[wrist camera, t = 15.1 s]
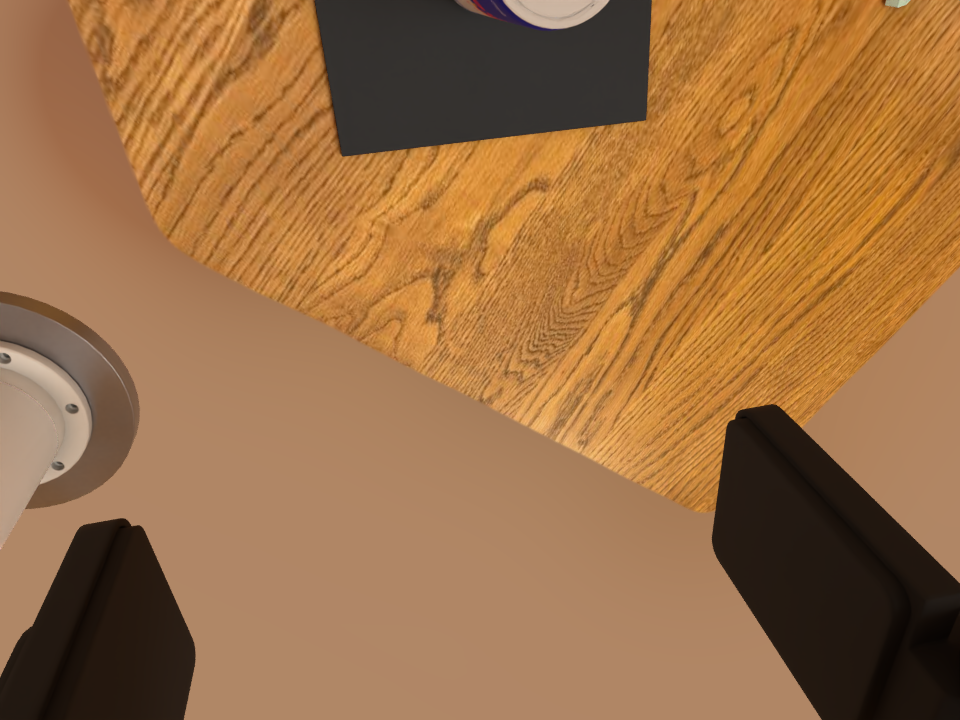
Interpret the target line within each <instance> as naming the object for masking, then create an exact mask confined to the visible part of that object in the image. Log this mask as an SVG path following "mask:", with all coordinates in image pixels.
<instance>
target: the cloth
mask: <svg viewBox="0 0 960 720" xmlns="http://www.w3.org/2000/svg"><path fill="white" fill-rule="evenodd" d="M909 1H910V0H886V3H885V5H887V6H892V7H897V8H898V7H901V6H904V5H906V4H907V3H908V2H909Z"/></svg>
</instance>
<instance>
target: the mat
mask: <svg viewBox="0 0 960 720" xmlns="http://www.w3.org/2000/svg"><path fill="white" fill-rule="evenodd" d="M651 4H652V0H609V2H608V3H607V4H606V5H605V6H604V7H603V8H602V9H601V10H600V11H599V12H598V13H597V14H596V15H594V16H593V17H591V18H590V19H588V20H586V21H585V22H583V23H581V24H578V25H576V26H572V27H568V28H565V29H562V30H554V31H541V30H535V29H531V28H527V27H524V26H520V25H517V24H513V23H509V22H506V21H502V20H499V19H495V18H491V17H488V16H484V15H481V14H476V13H474V12H471V11H469V10H467V9H465V8H463V7H462V6H460V5H459V4H458V3H457V2H456V1H455V0H315V5H316V11H317V17H318V22H319V28H320V34H321V39H322V45H323V51H324V56H325V62H326V68H327V73H328V79H329V85H330V90H331V96H332V102H333V107H334V113H335V119H336V124H337V130H338V136H339V141H340V147H341V153H342V156H351V155H359V154H368V153H376V152H385V151H393V150H401V149H410V148H418V147H426V146H435V145H443V144H452V143H460V142H468V141H477V140H485V139H494V138H502V137H510V136H519V135H527V134H535V133H544V132H552V131H561V130H569V129H577V128H586V127H594V126H602V125H611V124H619V123H628V122H636V121H644V120H646V111H647V90H648V68H649V47H650V25H651Z"/></svg>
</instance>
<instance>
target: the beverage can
mask: <svg viewBox="0 0 960 720" xmlns="http://www.w3.org/2000/svg"><path fill="white" fill-rule="evenodd" d="M455 1H456V2H457V3H458V4H459V5H460V6H462V7H463V8H465V9H467V10H469V11H471V12H474V13H476V14H481V15H484V16H488V17H491V18H495V19H499V20H502V21H506V22H509V23H513V24H517V25H520V26H524V27H527V28H531V29H535V30H541V31H554V30H562V29H565V28H568V27H572V26H576V25H578V24H581V23H583V22H585V21H586V20H588V19H590V18H591V17H593V16H594V15H596V14H597V13H598V12H599V11H600V10H601V9H602V8H603V7H604V6H605V5H606V4H607V3H608V2H609V0H455Z"/></svg>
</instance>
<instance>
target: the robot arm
mask: <svg viewBox="0 0 960 720" xmlns="http://www.w3.org/2000/svg"><path fill="white" fill-rule="evenodd" d="M91 431H92V416H91V410H90V407H89V404H88V402H87V399H86V397H85V395H84V394H83V392H82V391H81V389H80V387H79V386H78V384H77V383H76V382H75V381H74V380H73V379H72V378H71V377H70V376H69V375H68V374H67V373H66V371H64V370H63V369H62V368H60V367H59V366H58V365H56V364H55V363H54V362H52V361H51V360H49V359H47V358H46V357H44V356H42V355H40V354H38V353H37V352H35V351H32V350H30V349H27V348H24V347H22V346H19V345H17V344H13V343H8V342H4V341H0V550H1V548H2V546H3V545H4V543H5V541H6V539H7V538H8V536H9V534H10V533H11V531H12V529H13V527H14V526H15V524H16V522H17V521H18V519H19V517H20V516H21V514H22V512H23V510H24V509H25V507H26V505H27V504H28V502H29V500H30V499H31V497H32V495H33V494H34V492H35V490H36V488H37V487H38V485H39V484H43V483H46V482H48V481H50V480H53V479H55V478H57V477H59V476H61V475H62V474H64V473H65V472H67V471H68V470H70V469H71V468H72V467H73V466H74V464H75V463H76V462H77V461H78V460H79V459H80V457H81V456H82V454H83V452H84V451H85V449H86V447H87V444H88V442H89V440H90V437H91ZM712 544H713V549H714V552H715V554H716V557H717V559H718V561H719V562H720V564H721V565H722V567H723V568H724V570H725V571H726V573H727V574H728V576H729V577H730V579H731V580H732V582H733V584H734V585H735V587H736V588H737V590H738V591H739V593H740V594H741V596H742V598H743V599H744V601H745V602H746V604H747V605H748V607H749V608H750V609H751V611H752V613H753V614H754V616H755V618H756V619H757V621H758V622H759V624H760V625H761V627H762V628H763V630H764V631H765V633H766V635H767V636H768V638H769V639H770V640H771V642H772V644H773V645H774V647H775V648H776V650H777V651H778V653H779V655H780V656H781V658H782V659H783V660H784V662H785V664H786V665H787V667H788V668H789V670H790V671H791V673H792V674H793V676H794V678H795V679H796V681H797V682H798V684H799V685H800V687H801V688H802V690H803V691H804V693H805V694H806V696H807V698H808V699H809V701H810V702H811V704H812V705H813V707H814V708H815V710H816V711H817V713H818V715H819V716H820V718H821V719H822V720H960V583H959V582H958V581H957V580H956V579H955V578H954V577H953V576H952V575H951V574H950V573H949V572H948V571H946V570H945V569H944V568H943V567H942V566H941V565H940V564H939V563H938V562H937V561H936V560H935V559H934V558H933V557H932V556H931V555H930V554H929V553H928V552H927V551H926V550H925V549H924V548H923V547H922V546H921V545H920V544H919V543H918V542H917V541H916V540H915V539H914V538H913V537H912V536H911V535H910V534H909V533H908V532H907V531H906V530H905V529H904V528H903V527H901V525H899V523H897V522H896V521H895V520H894V519H893V518H892V517H891V516H890V515H889V514H888V513H887V512H886V511H885V510H884V509H883V508H882V507H881V506H880V505H879V504H878V503H877V502H876V501H875V500H874V499H873V498H872V497H871V496H870V495H869V494H868V493H867V492H866V491H865V490H864V489H863V488H862V487H861V486H860V485H859V484H858V483H857V482H856V481H855V480H854V479H853V478H851V476H849V474H848V473H847V472H845V471H844V470H843V469H842V468H841V467H840V466H839V465H838V464H837V463H836V462H835V461H834V460H833V459H832V458H831V457H830V456H829V455H828V454H827V453H826V452H825V451H824V450H823V449H822V448H821V447H820V446H819V445H818V444H817V443H816V442H815V441H814V440H813V439H812V438H811V437H810V436H809V435H808V434H807V433H806V432H805V431H804V430H803V429H802V428H801V427H800V426H799V425H798V424H797V423H795V422H794V421H793V420H792V419H791V418H790V417H789V416H788V415H787V414H786V413H785V412H784V411H783V410H782V409H781V408H780V407H778V406H777V405H773V404H771V405H765V406H760V407H754V408H748V409H742V410H740V411H738V413H737V414H736V417H735V420H731V421H729V423H728V425H727V429H726V436H725V444H724V451H723V459H722V466H721V474H720V481H719V488H718V496H717V503H716V511H715V518H714V526H713V534H712ZM194 667H195V646H194V642H193V639H192V637H191V634H190V632H189V630H188V627H187V625H186V623H185V621H184V618H183V616H182V614H181V612H180V610H179V607H178V605H177V603H176V600H175V598H174V596H173V594H172V591H171V589H170V587H169V585H168V582H167V580H166V578H165V576H164V573H163V571H162V569H161V567H160V564H159V562H158V560H157V558H156V556H155V553H154V551H153V549H152V547H151V545H150V542H149V540H148V538H147V535H146V533H145V531H144V529H143V528H142V527H141V526H139V525H137V526H131V524H130V523H129V522H128V521H127V520H126V519H123V518H120V519H115V520H109V521H103V522H97V523H92V524H86V525H83V526H81V527H80V528H79V529H78V531H77V532H76V534H75V536H74V539H73V541H72V543H71V545H70V547H69V549H68V551H67V553H66V556H65V558H64V560H63V562H62V564H61V566H60V569H59V570H58V573H57V575H56V577H55V579H54V581H53V583H52V585H51V588H50V590H49V592H48V594H47V596H46V598H45V600H44V603H43V605H42V607H41V609H40V611H39V613H38V615H37V618H36V620H35V622H34V624H33V626H32V627H30V628H29V629H28V630H26V631H25V632H24V633H23V634H22V636H21V638H20V639H19V640H18V642H17V644H16V646H15V648H14V650H13V652H12V654H11V656H10V658H9V660H8V662H7V664H6V667H5V668H4V671H3V673H2V675H1V677H0V720H184V715H185V710H186V705H187V701H188V695H189V691H190V686H191V681H192V676H193V672H194Z"/></svg>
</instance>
